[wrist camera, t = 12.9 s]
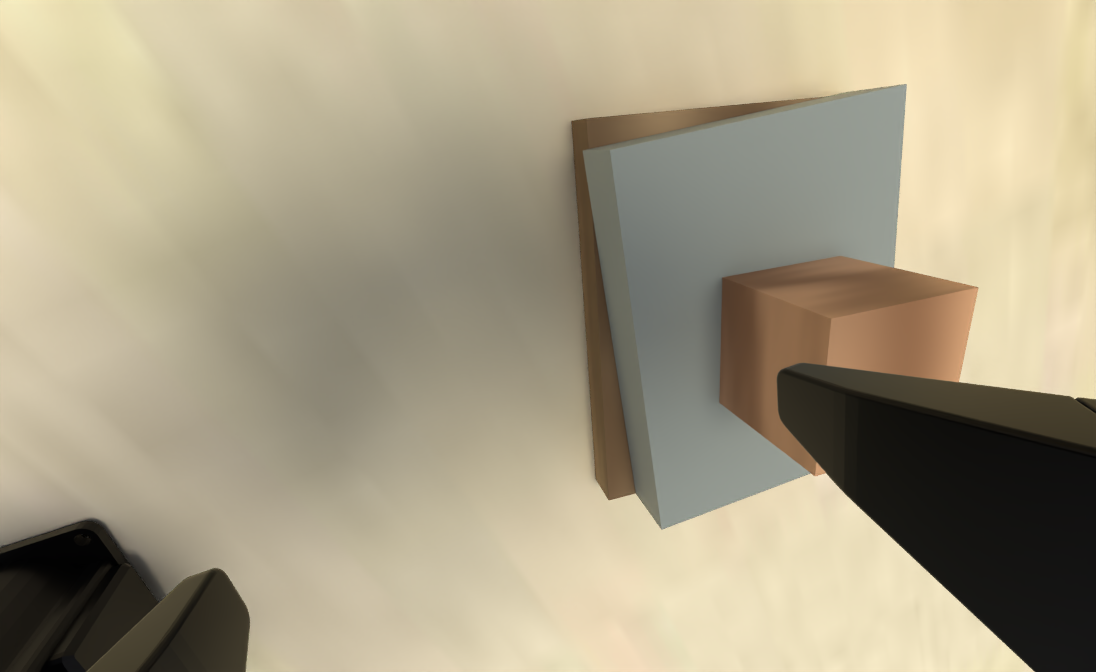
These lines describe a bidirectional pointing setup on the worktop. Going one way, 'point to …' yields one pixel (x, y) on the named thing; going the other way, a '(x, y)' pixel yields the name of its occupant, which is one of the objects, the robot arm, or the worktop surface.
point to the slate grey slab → (727, 269)
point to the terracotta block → (834, 332)
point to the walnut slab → (602, 369)
